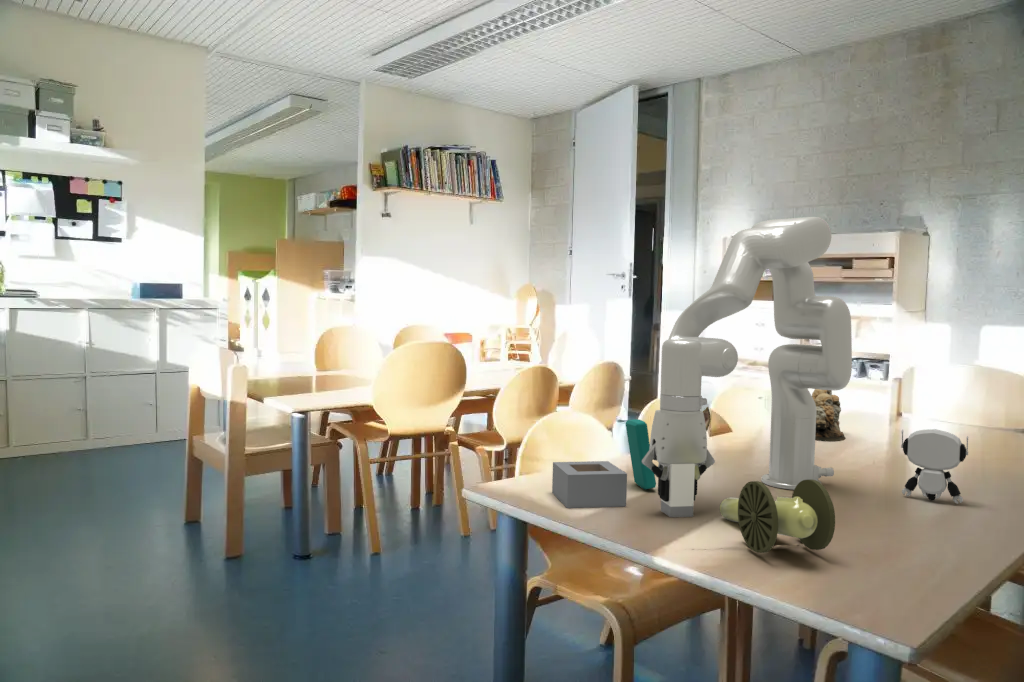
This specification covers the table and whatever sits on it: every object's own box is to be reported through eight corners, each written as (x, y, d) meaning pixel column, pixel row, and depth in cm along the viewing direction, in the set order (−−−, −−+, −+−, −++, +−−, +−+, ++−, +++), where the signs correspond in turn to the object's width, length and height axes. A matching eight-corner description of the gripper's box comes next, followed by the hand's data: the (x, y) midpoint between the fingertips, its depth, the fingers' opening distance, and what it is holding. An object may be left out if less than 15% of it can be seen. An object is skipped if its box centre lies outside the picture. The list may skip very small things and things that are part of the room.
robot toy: (966, 502, 157) (970, 431, 157) (964, 507, 154) (968, 434, 153) (901, 493, 164) (904, 424, 164) (897, 497, 161) (901, 427, 160)
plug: (683, 510, 147) (684, 458, 146) (693, 516, 142) (694, 463, 142) (660, 510, 146) (662, 459, 145) (670, 517, 141) (671, 464, 141)
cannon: (699, 520, 140) (701, 459, 140) (756, 517, 143) (759, 458, 142) (773, 565, 116) (776, 492, 116) (841, 561, 119) (844, 489, 118)
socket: (607, 491, 160) (607, 461, 160) (626, 506, 148) (627, 473, 148) (552, 492, 158) (552, 462, 157) (567, 508, 146) (567, 474, 146)
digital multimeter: (646, 492, 159) (659, 489, 160) (635, 422, 159) (648, 420, 160) (634, 486, 167) (646, 483, 167) (623, 420, 166) (636, 417, 167)
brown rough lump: (841, 448, 218) (843, 389, 217) (798, 443, 225) (800, 386, 224) (851, 440, 233) (853, 385, 233) (811, 435, 240) (813, 382, 239)
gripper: (712, 401, 148) (709, 493, 149) (631, 401, 145) (628, 495, 146) (730, 406, 141) (727, 503, 142) (645, 407, 138) (642, 505, 138)
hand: (677, 498), depth 144 cm, fingers closed on plug, 4 cm apart
